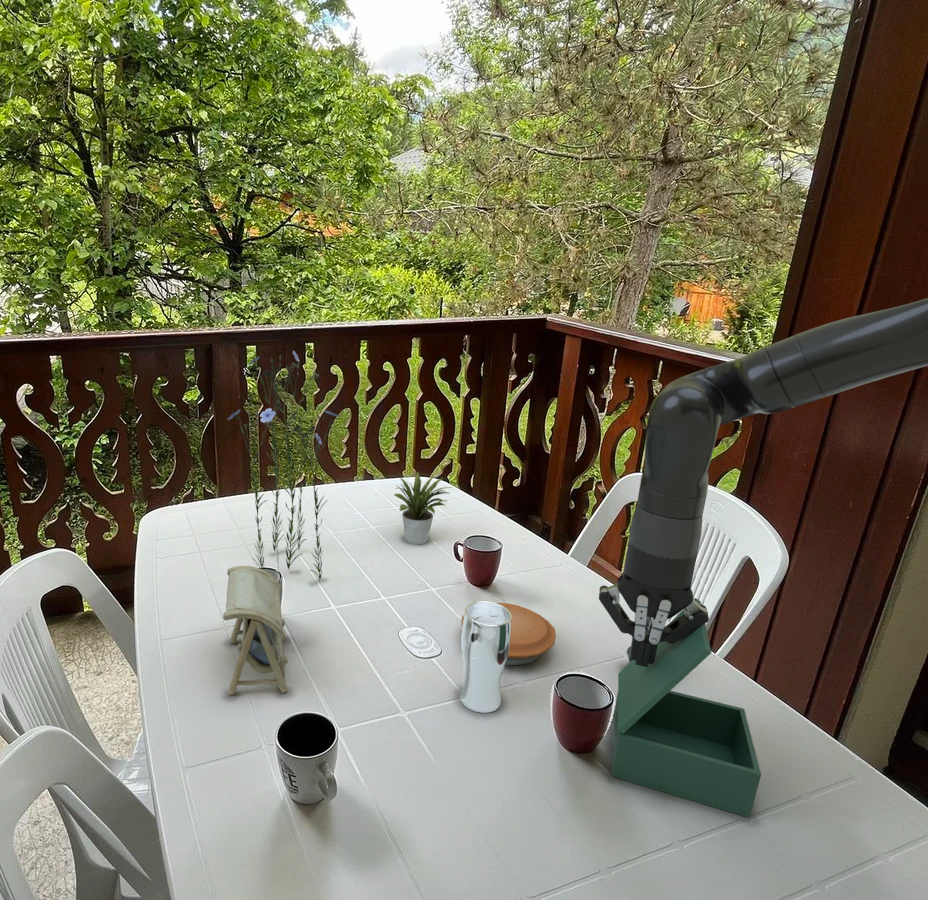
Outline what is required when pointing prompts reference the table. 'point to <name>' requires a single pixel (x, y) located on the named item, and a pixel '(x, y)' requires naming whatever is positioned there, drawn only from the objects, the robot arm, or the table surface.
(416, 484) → the house plant
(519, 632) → the pie
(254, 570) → the swing bench
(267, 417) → the wildflower
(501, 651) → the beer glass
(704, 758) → the green open box
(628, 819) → the table surface
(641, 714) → the lid
